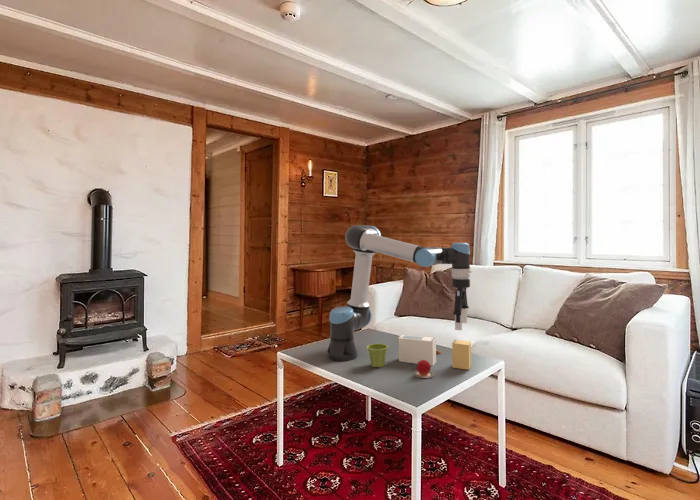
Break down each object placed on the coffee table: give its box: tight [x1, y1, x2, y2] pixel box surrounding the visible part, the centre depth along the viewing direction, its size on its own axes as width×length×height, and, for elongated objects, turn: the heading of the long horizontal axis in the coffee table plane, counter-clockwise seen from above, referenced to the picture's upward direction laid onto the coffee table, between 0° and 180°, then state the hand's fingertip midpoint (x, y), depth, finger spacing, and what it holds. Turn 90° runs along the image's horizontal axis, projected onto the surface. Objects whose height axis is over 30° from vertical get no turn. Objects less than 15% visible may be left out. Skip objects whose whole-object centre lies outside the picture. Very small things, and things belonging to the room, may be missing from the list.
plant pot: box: [366, 343, 389, 368], centre depth 169 cm, size 9×9×9 cm
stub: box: [451, 339, 472, 371], centre depth 165 cm, size 7×6×11 cm
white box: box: [398, 334, 437, 367], centre depth 174 cm, size 16×6×11 cm, turn 64°
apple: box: [413, 360, 435, 379], centre depth 156 cm, size 8×8×6 cm
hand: (461, 326), depth 164 cm, fingers open, 13 cm apart
